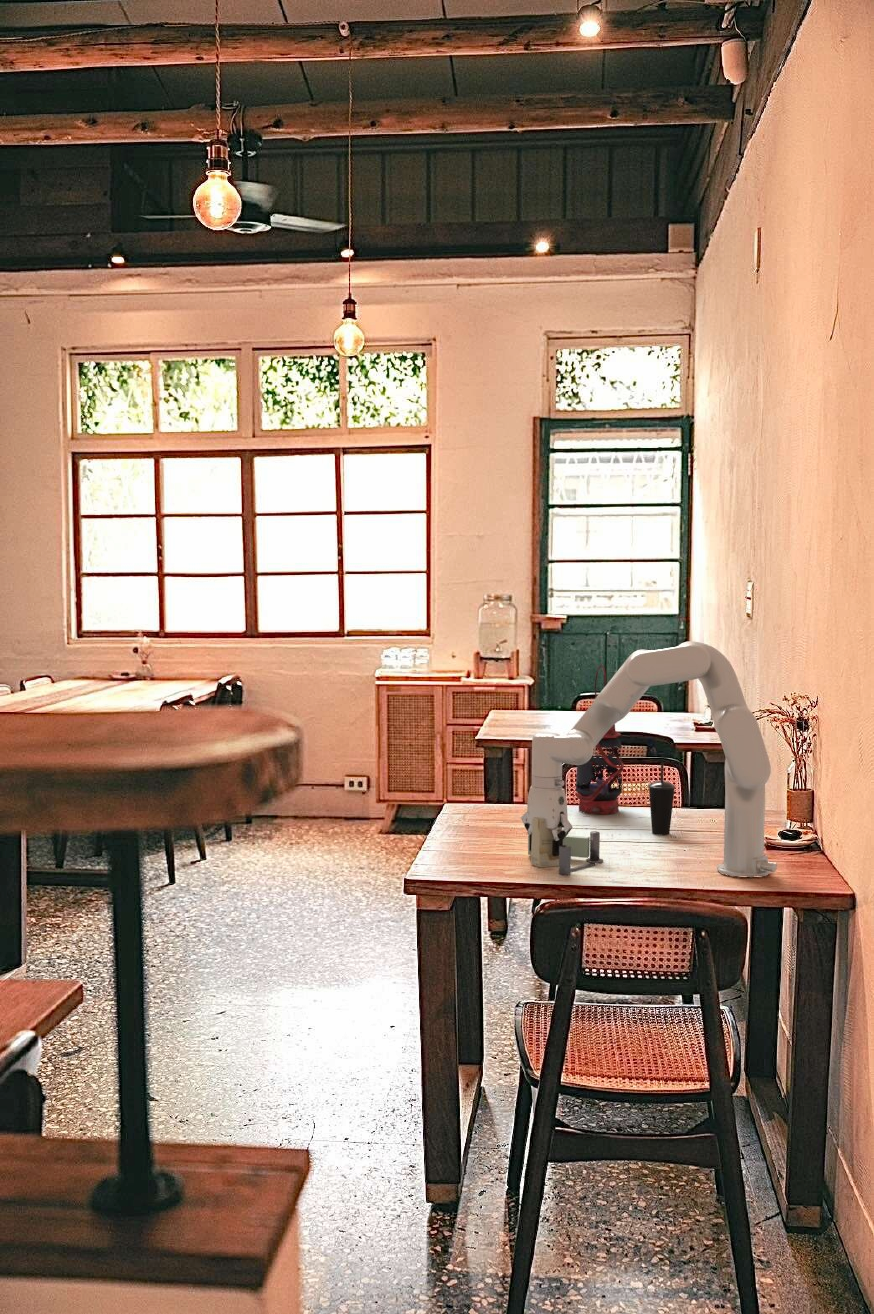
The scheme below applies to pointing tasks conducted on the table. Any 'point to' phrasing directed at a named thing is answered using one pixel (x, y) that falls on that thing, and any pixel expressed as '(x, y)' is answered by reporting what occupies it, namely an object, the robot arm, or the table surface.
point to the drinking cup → (661, 805)
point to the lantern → (601, 775)
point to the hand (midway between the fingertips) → (545, 852)
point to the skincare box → (542, 845)
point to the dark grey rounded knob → (594, 848)
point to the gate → (574, 845)
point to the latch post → (568, 861)
